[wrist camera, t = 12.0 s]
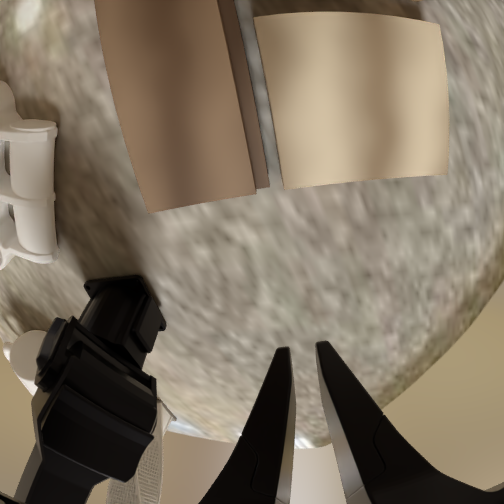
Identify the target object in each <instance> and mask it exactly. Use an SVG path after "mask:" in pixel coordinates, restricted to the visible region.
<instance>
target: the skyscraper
mask: <svg viewBox="0 0 504 504" xmlns="http://www.w3.org/2000/svg"><path fill="white" fill-rule="evenodd" d="M157 412H158V414H157V424H156V427H155V430H154V432H153V434H152V435H154V439H153V440H152V442H151V443H150V444H149V445H148V446H147V448H146V449H145V451H144V453H143V454H142V456H141V459H140V461H139V464H138V467H137V470H136V473H135V475H134V476H133V477H132V478H131V479H130V480H129V481H128V482H126V483H122V482H120V481H117V480H114V479H112V478H110V482H109V486H108V491H107V499H106V504H159V503H160V497H161V491H162V479H163V436H164V434H165V432H166V430H167V428H168V426H169V424H170V422H171V421H176V418H175V416H174V415H173V414H172V413H171V412H170V410H169V409H168V408H167V407H166V406H165V404H164V403H163V402H162V401H161V400H157Z"/></svg>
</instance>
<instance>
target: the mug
mask: <svg viewBox="0 0 504 504" xmlns="http://www.w3.org/2000/svg"><path fill="white" fill-rule="evenodd" d="M46 333H47V332H45V331H42V330H32V331H28V332H26V333H24V334H22V335H21V336H19V337H18V338H17V339H16V340H15V342H14V343H10V342H5V343H4V344H3V352H4V354H5V356H6V358H7V359H8V360H9V361H10V364H11V367H12V369H13V371H14V372H15V374H16V375H17V376H18V378H19V379H20V380H21V382H22V383H23V384H24V386H25V387H26V388H27V389H28V391H29V392H30V393H31V394H32V396H34V394H35V392H36V390H37V388H38V387H37V386H36V385H35V384H34V381H35V376H36V371H37V363H36V357H37V355H38V352H39V349H40V346H41V344H42V341H43V339H44V337H45V335H46Z"/></svg>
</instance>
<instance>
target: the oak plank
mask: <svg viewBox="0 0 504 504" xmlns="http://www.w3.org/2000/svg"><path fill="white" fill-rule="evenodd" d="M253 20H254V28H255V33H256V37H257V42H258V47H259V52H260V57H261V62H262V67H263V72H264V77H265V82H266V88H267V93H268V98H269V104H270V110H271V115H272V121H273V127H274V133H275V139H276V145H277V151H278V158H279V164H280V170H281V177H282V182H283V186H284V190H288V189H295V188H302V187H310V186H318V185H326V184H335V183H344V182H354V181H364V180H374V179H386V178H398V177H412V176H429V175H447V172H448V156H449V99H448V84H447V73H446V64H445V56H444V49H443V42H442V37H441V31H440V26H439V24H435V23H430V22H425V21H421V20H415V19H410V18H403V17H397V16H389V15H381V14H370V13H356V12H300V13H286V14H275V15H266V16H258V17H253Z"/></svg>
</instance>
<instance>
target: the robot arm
mask: <svg viewBox="0 0 504 504" xmlns="http://www.w3.org/2000/svg"><path fill="white" fill-rule="evenodd" d="M136 280H137V281H138V282H137V281H136ZM84 288H85V290H86V292H87V293H88V295H89V297H90V298H91V299H90V301H89V302H88V304H87V306H86V307H85V309H84V311H83V313H82V314H81V316H80V318H79V320H77V319H76V318H75V317H74V316H71V317H70V318H69V319H68V320H67V321H66V320H65V319H61V318H58V317H56V318H55V319H54V321H53V323H52V324H51V326H50V328H49V329H48V331H47V333H46V335H45V337H44V339H43V341H42V344H41V346H40V349H39V352H38V355H37V357H36V363H37V371H36V376H35V381H34V384H35V385H36V386H37V387H38V388H37V390H36V392H35V394H34V396H33V399H32V402H31V405H32V416H33V424H34V431H35V437H36V443H35V446H34V449H33V451H32V453H31V455H30V457H29V460H28V462H27V465H26V467H25V469H24V472H23V474H22V477H21V480H20V482H19V485H18V487H17V490H16V493H15V496H14V498H12V497H10V496H8V495H6V494H4V493H2V492H0V504H86V502H87V500H88V498H89V496H90V493H91V491H92V489H93V488H94V486H95V485H97V484H99V483H101V482H103V481H105V480H107V479H109V478H112V479H114V480H117V481H120V482H122V483H126V482H128V481H129V480H130V479H131V478H132V477H133V476H134V475H135V473H136V470H137V467H138V464H139V461H140V459H141V456H142V454H143V453H144V451H145V449H146V448H147V446H148V445H149V444H150V443H151V442H152V440H153V439H154V435H152V434H153V432H154V430H155V427H156V424H157V414H158V412H157V389H156V378H154V377H153V376H151V375H150V376H149V375H148V374H146V373H145V372H143V371H142V368H143V364H144V361H145V358H146V355H147V353H151V351H152V349H153V346H154V343H155V340H156V337H157V334H158V331H164V330H165V329H166V323H165V321H164V319H163V317H162V315H161V313H160V311H159V309H158V307H157V305H156V303H155V301H154V299H153V298H152V297H151V295H150V293H149V291H148V289H147V287H146V285H145V283H144V281H143V279H142V277H140V276H139V275H131V276H123V277H115V278H106V279H98V280H89V281H86V282H85V284H84ZM315 347H316V363H317V370H318V377H319V385H320V393H321V400H322V404H323V408H324V412H325V416H326V420H327V424H328V428H329V432H330V436H331V440H332V444H333V448H334V451H335V456H336V460H337V464H338V468H339V472H340V476H341V481H342V485H343V489H344V494H345V498H346V502H347V504H504V482H503V483H501V484H499V485H496V486H494V487H492V488H490V489H487V490H485V491H483V490H481V489H478V488H475V487H473V486H470V485H468V484H465V483H463V482H461V481H458V480H456V479H454V478H451V477H449V476H447V475H445V474H443V473H441V472H440V471H438V470H437V469H435V468H434V467H433V466H432V465H431V464H430V463H429V462H428V461H427V460H426V459H425V458H424V457H422V455H420V453H418V452H417V451H416V450H415V449H414V448H413V447H412V446H411V445H410V444H409V443H408V442H407V441H406V440H405V439H404V437H402V435H401V434H400V433H399V432H398V431H397V430H396V428H395V427H394V426H393V425H392V424H391V422H390V421H389V420H388V418H387V417H386V416H385V415H383V412H382V411H381V409H380V408H379V407H378V405H377V404H376V403H375V401H374V400H373V399H372V397H371V396H370V395H369V394H368V392H367V391H366V390H365V388H364V387H363V386H362V384H361V383H360V382H359V380H358V379H357V378H356V377H355V375H354V374H353V373H352V371H351V370H350V369H349V367H348V366H347V365H346V364H345V362H344V361H343V360H342V358H341V357H340V356H339V354H338V353H337V352H336V351H335V349H334V348H333V347H332V345H331V344H330V343H329V342H328V341H320V342H316V344H315ZM295 421H296V397H295V387H294V377H293V368H292V360H291V353H290V348H289V347H279V348H277V349H276V352H275V354H274V357H273V359H272V362H271V364H270V367H269V369H268V372H267V374H266V377H265V379H264V382H263V384H262V387H261V389H260V392H259V394H258V396H257V399H256V401H255V404H254V406H253V408H252V411H251V413H250V415H249V418H248V420H247V422H246V425H245V427H244V429H243V431H242V436H240V438H239V440H238V442H237V444H236V446H235V448H234V450H233V452H232V454H231V456H230V458H229V460H228V462H227V463H226V465H225V466H224V468H223V470H222V471H221V473H220V474H219V476H218V477H217V479H216V480H215V482H214V483H213V484H212V486H211V488H210V489H209V490H208V492H207V493H206V494H205V496H204V497H203V498H202V500H201V501H200V502H199V503H198V504H289V503H290V493H291V481H292V469H293V455H294V439H295Z"/></svg>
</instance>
